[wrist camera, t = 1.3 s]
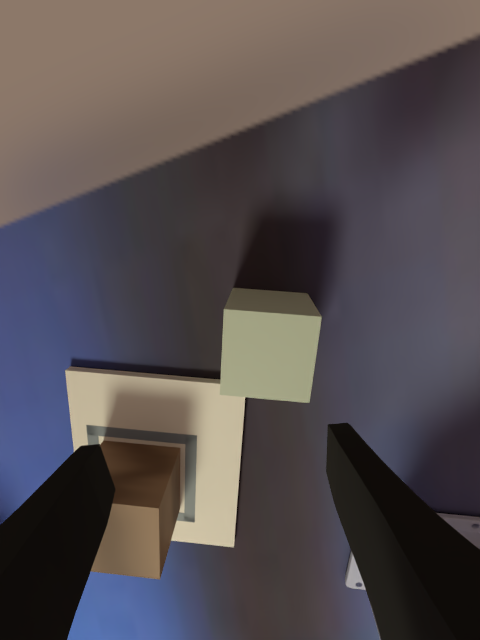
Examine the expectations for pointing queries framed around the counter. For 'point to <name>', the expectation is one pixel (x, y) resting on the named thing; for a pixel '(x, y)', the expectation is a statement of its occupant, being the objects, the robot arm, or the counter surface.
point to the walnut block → (140, 509)
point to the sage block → (269, 345)
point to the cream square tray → (170, 437)
